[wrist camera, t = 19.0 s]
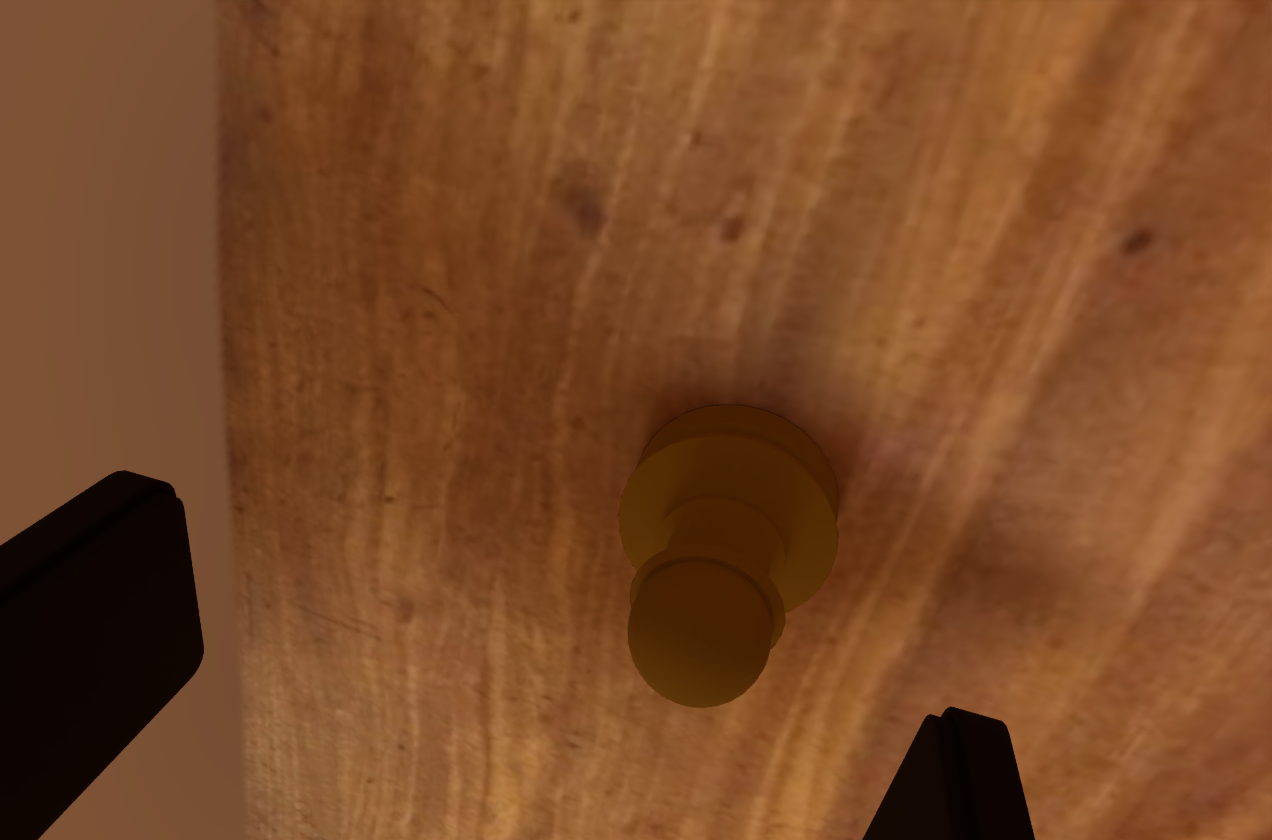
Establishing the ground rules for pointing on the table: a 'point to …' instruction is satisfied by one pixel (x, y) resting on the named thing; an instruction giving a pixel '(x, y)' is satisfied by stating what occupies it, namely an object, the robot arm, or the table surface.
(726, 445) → the chess piece
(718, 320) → the table surface
